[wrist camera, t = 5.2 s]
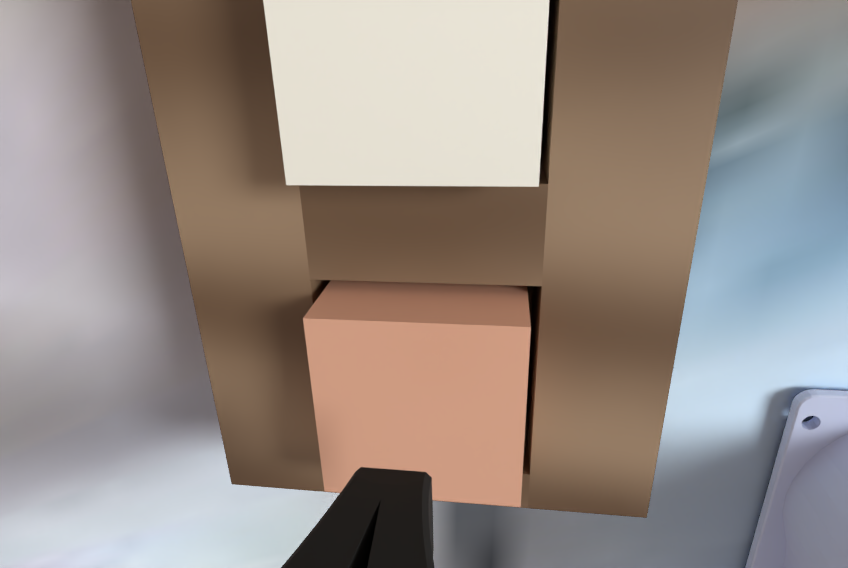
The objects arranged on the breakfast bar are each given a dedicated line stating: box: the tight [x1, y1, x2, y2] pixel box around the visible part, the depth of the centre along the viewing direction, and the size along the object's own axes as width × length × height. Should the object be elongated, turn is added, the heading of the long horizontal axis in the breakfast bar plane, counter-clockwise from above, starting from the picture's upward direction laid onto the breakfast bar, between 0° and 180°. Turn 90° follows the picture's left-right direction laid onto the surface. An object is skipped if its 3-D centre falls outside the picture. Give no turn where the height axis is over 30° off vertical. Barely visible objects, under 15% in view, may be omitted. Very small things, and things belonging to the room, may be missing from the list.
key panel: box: [131, 0, 738, 518], centre depth 13 cm, size 24×12×4 cm, turn 2°
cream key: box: [263, 0, 549, 187], centre depth 11 cm, size 5×5×3 cm
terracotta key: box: [303, 280, 531, 507], centre depth 14 cm, size 5×5×3 cm
